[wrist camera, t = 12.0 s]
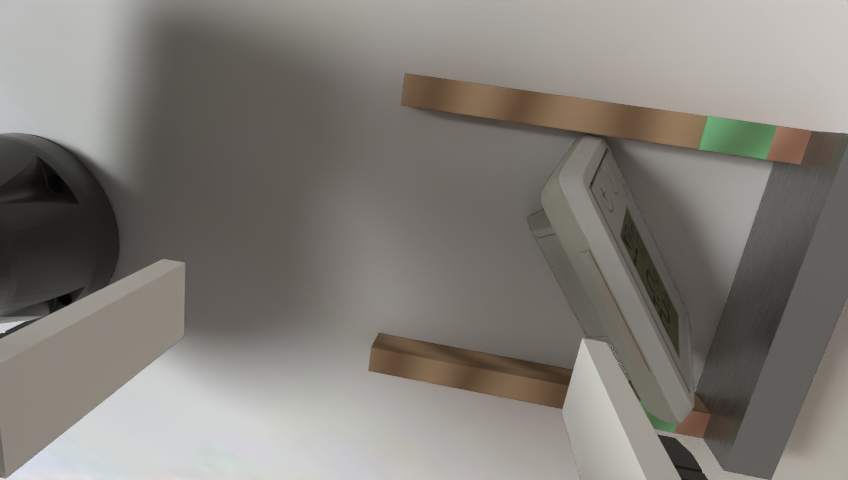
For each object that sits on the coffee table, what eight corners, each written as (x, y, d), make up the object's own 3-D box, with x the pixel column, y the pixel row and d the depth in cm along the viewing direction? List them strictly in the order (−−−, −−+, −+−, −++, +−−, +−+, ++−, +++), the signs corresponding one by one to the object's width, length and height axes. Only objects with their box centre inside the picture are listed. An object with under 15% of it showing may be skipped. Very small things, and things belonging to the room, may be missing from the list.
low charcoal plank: (687, 415, 38) (723, 470, 32) (785, 129, 32) (851, 134, 26) (727, 423, 37) (771, 480, 32) (833, 136, 31) (911, 142, 26)
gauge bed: (375, 355, 40) (367, 372, 37) (411, 75, 34) (404, 72, 31) (727, 423, 38) (745, 446, 35) (833, 135, 31) (865, 138, 29)
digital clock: (685, 329, 36) (763, 416, 26) (564, 355, 38) (592, 446, 28) (640, 115, 33) (709, 118, 22) (509, 155, 34) (518, 175, 24)
